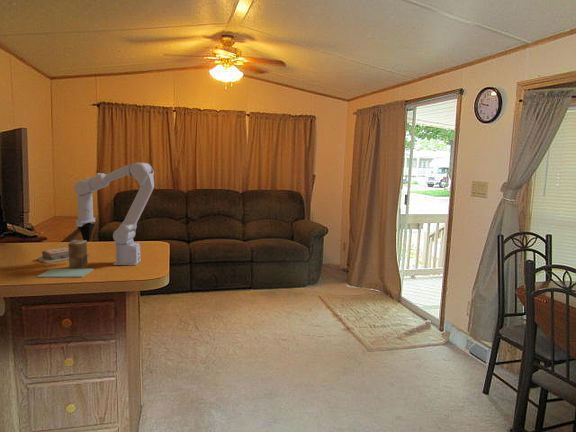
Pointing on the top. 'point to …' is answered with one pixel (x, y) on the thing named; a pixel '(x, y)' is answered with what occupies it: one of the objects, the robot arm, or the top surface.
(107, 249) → the top surface
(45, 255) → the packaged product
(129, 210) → the robot arm
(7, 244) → the top surface
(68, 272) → the mat
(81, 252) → the walnut block
